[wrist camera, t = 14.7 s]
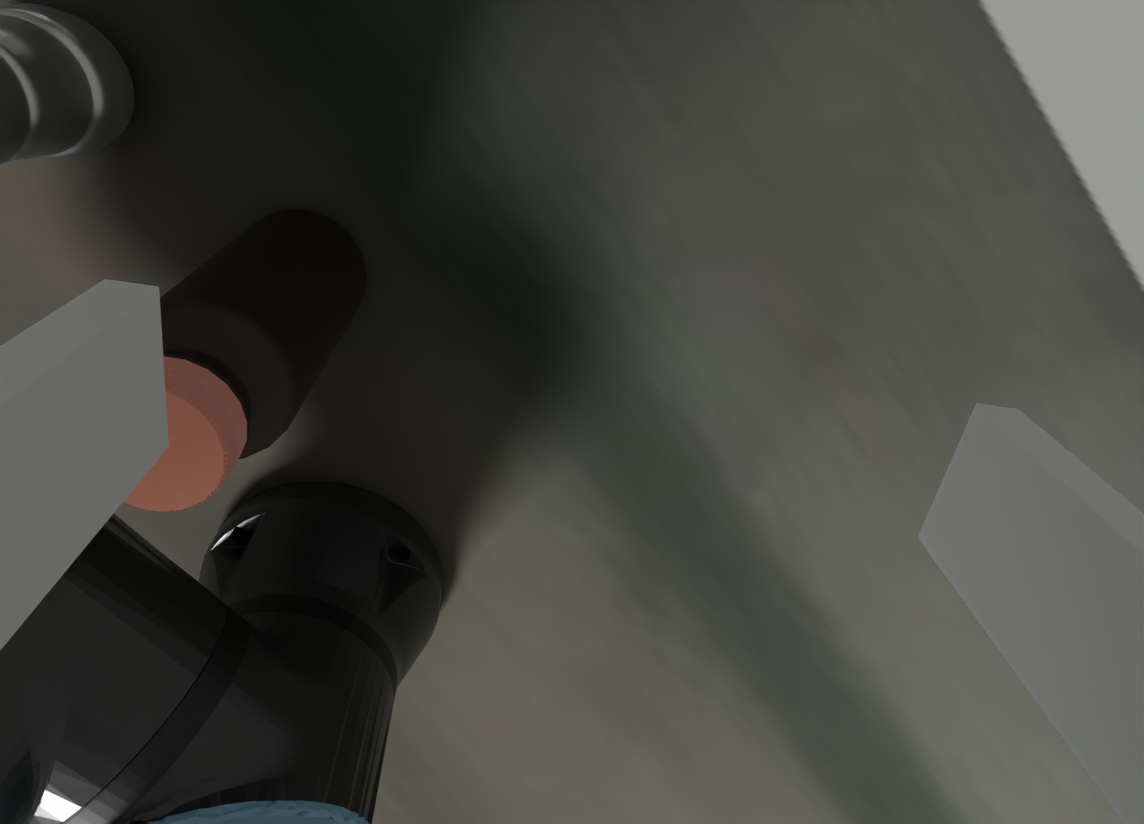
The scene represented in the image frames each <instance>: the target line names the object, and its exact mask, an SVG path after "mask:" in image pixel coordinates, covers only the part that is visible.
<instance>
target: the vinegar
mask: <svg viewBox="0 0 1144 824" xmlns="http://www.w3.org/2000/svg"><path fill="white" fill-rule="evenodd" d="M365 284H366V270H365V266H364V262H363V258H362V254H361V252H360V251H359V249H358V247H357V246H356V244H355V242H354V241H353V239H352V237H351V236H350V235H349V234H348V233H347V232H346V231H344V230H343V229H342V228H341V227H340V226H339V225H338V224H337V223H336V222H334V221H332V220H330V219H328V218H326V217H324V216H322V215H320V214H318V213H313V212H308V211H302V210H297V209H294V210H287V211H279V212H275V213H273V214H271V215H269V216H267V217H265V218H263V219H261V220H259V221H257V222H256V223H255V224H254V225H252V226H251V227H250V228H248V229H247V230H246V231H245V232H243V233H242V234H241V235H240V236H238V237H237V238H236V239H235V240H233V241H232V242H231V243H229V244H228V245H227V246H226V247H224V248H223V249H222V250H221V251H219V252H218V253H217V254H215V255H214V256H213V257H212V258H210V259H209V260H208V261H207V262H205V263H204V264H203V265H201V266H200V267H199V268H198V269H196V270H195V271H194V272H193V273H191V274H190V275H189V276H188V277H186V278H185V279H184V280H182V281H181V282H180V283H179V284H177V285H176V286H175V287H174V288H172V289H171V290H170V291H168V292H167V293H166V294H165V295H163V296H162V297H161V298H160V310H161V326H162V343H163V359H164V375H165V392H166V408H167V424H168V441H169V447H168V448H167V449H166V450H165V452H164V453H163V454H162V455H161V457H160V458H159V459H158V460H157V461H156V463H155V464H154V465H153V466H152V467H151V469H150V470H149V471H148V472H147V473H146V475H145V476H144V477H143V478H142V480H141V481H140V482H139V483H138V484H137V486H136V487H135V488H134V489H133V490H132V492H131V493H130V494H129V495H128V496H127V498H126V499H125V500H124V501H123V503H124V502H125V503H128V504H129V506H130V505H133V506H135V507H136V508H137V507H138V508H141V509H142V510H143V509H148V511H150V510H154V511H155V512H156V511H161V512H163V511H167V512H169V511H171V510H173V511H174V512H175V511H176V510H180V511H181V510H182V509H186V510H187V509H188V507H191V508H193V506H194V505H195V504H196V505H197V506H198V505H199V503H200V502H201V503H203V502H204V500H205V499H206V500H208V498H209V497H210V496H211V497H212V495H213V494H214V493H216V491H217V490H218V489H219V488H220V486H221V484H222V483H223V481H224V480H225V478H226V477H227V475H228V474H229V472H230V471H231V469H232V468H233V466H234V465H235V463H236V462H237V460H238V459H240V458H246V457H248V456H250V455H252V454H255V453H257V452H259V451H261V450H263V449H266V448H268V447H269V446H270V445H271V444H272V443H273V442H275V441H276V440H277V439H278V438H279V437H280V436H281V435H282V434H283V433H284V432H285V431H286V430H287V429H288V427H289V425H290V424H291V422H292V420H293V418H294V417H295V415H296V413H297V412H298V410H299V408H300V406H301V405H302V403H303V401H304V399H305V398H306V396H307V394H308V393H309V391H310V389H311V387H312V386H313V384H314V382H315V381H316V379H317V377H318V375H319V374H320V372H321V370H322V368H323V367H324V365H325V363H326V362H327V360H328V358H329V356H330V355H331V353H332V351H333V349H334V348H335V346H336V344H337V343H338V341H339V339H340V337H341V336H342V334H343V332H344V331H345V329H346V327H347V325H348V324H349V322H350V320H351V318H352V317H353V315H354V313H355V312H356V310H357V308H358V306H359V304H360V302H361V299H362V297H363V295H364V293H365Z"/></svg>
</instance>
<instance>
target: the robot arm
mask: <svg viewBox="0 0 1144 824" xmlns="http://www.w3.org/2000/svg"><path fill="white" fill-rule="evenodd" d="M168 447H169V441H168V424H167V408H166V392H165V375H164V359H163V343H162V326H161V310H160V294H159V287H158V286H151V285H144V284H137V283H130V282H123V281H116V280H109V279H104V280H103V281H101V282H100V283H98V284H96V285H95V286H93V287H92V288H90V289H89V290H87V291H85V292H84V293H82V294H81V295H79V296H78V297H76V298H74V299H73V300H71V301H70V302H68V303H67V304H65V305H64V306H62V307H60V308H59V309H57V310H56V311H54V312H53V313H51V314H49V315H48V316H46V317H45V318H43V319H42V320H40V321H39V322H37V323H35V324H34V325H32V326H31V327H29V328H28V329H26V330H24V331H23V332H21V333H20V334H18V335H17V336H15V337H14V338H12V339H10V340H9V341H7V342H6V343H4V344H3V345H1V346H0V824H372V819H373V814H374V808H375V803H376V797H377V792H378V786H379V781H380V775H381V770H382V764H383V759H384V753H385V748H386V742H387V737H388V732H389V726H390V721H391V715H392V710H393V703H394V698H395V693H396V688H397V687H398V685H399V684H400V682H401V681H402V679H403V678H404V677H405V675H406V674H407V672H408V671H409V669H410V668H411V666H412V665H413V663H414V662H415V660H416V659H417V657H418V656H419V655H420V653H421V652H422V650H423V649H424V647H425V646H426V644H427V643H428V641H429V639H430V637H431V635H432V633H433V631H434V629H435V626H436V623H437V620H438V616H439V611H440V606H441V599H442V593H443V573H442V567H441V563H440V560H439V557H438V554H437V552H436V550H435V548H434V546H433V544H432V542H431V541H430V539H429V537H428V536H427V535H426V533H425V532H424V531H423V530H422V528H421V527H420V526H419V525H418V524H417V523H416V522H415V521H414V520H413V519H412V518H411V517H410V516H409V515H407V514H406V513H405V512H404V511H402V510H401V509H400V508H398V507H397V506H395V505H394V504H392V503H390V502H388V501H387V500H385V499H383V498H381V497H379V496H377V495H374V494H372V493H370V492H367V491H364V490H361V489H358V488H354V487H350V486H346V485H341V484H334V483H324V482H307V483H296V484H290V485H285V486H281V487H277V488H274V489H271V490H268V491H266V492H263V493H261V494H259V495H257V496H255V497H253V498H251V499H250V500H248V501H246V502H245V503H244V504H242V505H241V506H240V507H238V508H237V509H236V510H235V511H234V512H233V513H232V514H231V515H230V516H229V517H228V518H227V520H226V521H225V522H224V524H223V525H222V526H221V528H220V530H219V531H218V533H217V535H216V536H215V538H214V540H213V542H212V543H211V545H210V547H209V549H208V550H207V553H206V555H205V558H204V561H203V564H202V567H201V571H200V577H199V582H198V581H197V580H195V579H194V578H193V577H192V576H190V575H189V574H188V573H186V572H185V571H184V570H183V569H181V568H180V567H179V566H178V565H176V564H175V563H174V562H173V561H171V560H170V559H169V558H167V557H166V556H165V555H164V554H162V553H161V552H160V551H159V550H157V549H156V548H155V547H154V546H152V545H151V544H150V543H149V542H148V541H146V540H145V539H144V538H143V537H142V536H140V535H139V534H138V533H137V532H135V531H134V530H133V529H132V528H131V527H129V526H128V525H127V524H126V523H125V522H123V521H122V520H121V519H120V518H118V517H117V516H116V515H115V514H114V512H115V511H116V510H117V509H118V507H119V506H120V505H121V504H122V503H123V501H124V500H125V499H126V498H127V496H128V495H129V494H130V493H131V492H132V490H133V489H134V488H135V487H136V486H137V484H138V483H139V482H140V481H141V480H142V478H143V477H144V476H145V475H146V473H147V472H148V471H149V470H150V469H151V467H152V466H153V465H154V464H155V463H156V461H157V460H158V459H159V458H160V457H161V455H162V454H163V453H164V452H165V450H166V449H167V448H168ZM918 538H919V540H920V541H921V543H922V544H923V545H924V547H925V548H926V550H927V551H928V552H929V554H930V555H931V556H932V558H933V559H934V561H935V562H936V563H937V565H938V566H939V568H940V569H941V570H942V572H943V573H944V574H945V576H946V577H947V579H948V580H949V581H950V583H951V584H952V586H953V587H954V588H955V590H956V591H957V593H958V594H959V595H960V597H961V598H962V599H963V601H964V602H965V604H966V605H967V606H968V608H969V609H970V611H971V612H972V613H973V615H974V616H975V618H976V619H977V620H978V622H979V623H980V624H981V626H982V627H983V629H984V630H985V631H986V633H987V634H988V636H989V637H990V638H991V640H992V641H993V642H994V644H995V645H996V647H997V648H998V649H999V651H1000V652H1001V654H1002V655H1003V656H1004V658H1005V659H1006V661H1007V662H1008V663H1009V665H1010V666H1011V667H1012V669H1013V670H1014V672H1015V673H1016V674H1017V676H1018V677H1019V679H1020V680H1021V681H1022V683H1023V684H1024V686H1025V687H1026V688H1027V690H1028V691H1029V692H1030V694H1031V695H1032V697H1033V698H1034V699H1035V701H1036V702H1037V704H1038V705H1039V706H1040V708H1041V709H1042V711H1043V712H1044V713H1045V715H1046V716H1047V717H1048V719H1049V720H1050V722H1051V723H1052V724H1053V726H1054V727H1055V729H1056V730H1057V731H1058V733H1059V734H1060V735H1061V737H1062V738H1063V740H1064V741H1065V742H1066V744H1067V745H1068V747H1069V748H1070V749H1071V751H1072V752H1073V754H1074V755H1075V756H1076V758H1077V759H1078V760H1079V762H1080V763H1081V765H1082V766H1083V767H1084V769H1085V770H1086V772H1087V773H1088V774H1089V776H1090V777H1091V779H1092V780H1093V781H1094V783H1095V784H1096V785H1097V787H1098V788H1099V790H1100V791H1101V792H1102V794H1103V795H1104V797H1105V798H1106V799H1107V801H1108V802H1109V803H1110V805H1111V806H1112V808H1113V809H1114V810H1115V812H1116V813H1117V815H1118V816H1119V817H1120V819H1121V820H1122V822H1123V823H1124V824H1144V514H1143V513H1142V512H1141V511H1140V510H1139V509H1137V508H1136V507H1135V506H1134V505H1133V504H1131V503H1130V502H1129V501H1128V500H1127V499H1125V498H1124V497H1123V496H1122V495H1121V494H1119V493H1118V492H1117V491H1116V490H1115V489H1114V488H1112V487H1111V486H1110V485H1109V484H1108V483H1106V482H1105V481H1104V480H1103V479H1102V478H1100V477H1099V476H1098V475H1097V474H1096V473H1094V472H1093V471H1092V470H1091V469H1090V468H1088V467H1087V466H1086V465H1085V464H1084V463H1082V462H1081V461H1080V460H1079V459H1078V458H1076V457H1075V456H1074V455H1073V454H1072V453H1070V452H1069V451H1068V450H1067V449H1066V448H1064V447H1063V446H1062V445H1061V444H1060V443H1058V442H1057V441H1056V440H1055V439H1054V438H1052V437H1051V436H1050V435H1049V434H1048V433H1046V432H1045V431H1044V430H1043V429H1042V428H1040V427H1039V426H1038V425H1037V424H1036V423H1034V422H1033V421H1032V420H1031V419H1030V418H1028V417H1027V416H1026V415H1025V414H1024V413H1022V412H1021V411H1020V410H1019V409H1014V408H1007V407H1000V406H993V405H986V404H979V403H976V405H975V407H974V410H973V412H972V414H971V416H970V419H969V421H968V423H967V426H966V428H965V430H964V432H963V435H962V437H961V439H960V442H959V444H958V446H957V448H956V451H955V453H954V455H953V457H952V460H951V462H950V464H949V467H948V469H947V471H946V473H945V476H944V478H943V480H942V483H941V485H940V487H939V489H938V492H937V494H936V496H935V498H934V501H933V503H932V505H931V508H930V510H929V512H928V514H927V517H926V519H925V521H924V524H923V526H922V528H921V530H920V533H919V535H918Z"/></svg>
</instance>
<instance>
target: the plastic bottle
mask: <svg viewBox="0 0 1144 824" xmlns="http://www.w3.org/2000/svg"><path fill="white" fill-rule="evenodd" d="M134 98H135V97H134V89H133V83H132V80H131V76H130V73H129V70H128V68H127V66H126V64H125V62H124V60H123V58H122V56H121V55H120V54H119V52H118V51H117V50H116V48H115V47H114V45H113V44H112V43H111V42H110V41H109V40H108V39H107V38H106V37H105V36H104V35H103V34H102V33H101V32H100V31H99V30H97V29H96V28H95V27H93V26H92V25H91V24H89V23H88V22H86V21H84V20H82V19H80V18H78V17H77V16H75V15H72V14H69V13H66V12H63V11H60V10H57V9H54V8H51V7H47V6H44V5H38V4H31V3H24V4H12V5H8V6H4V7H0V165H1V164H4V163H8V162H10V161H13V160H20V159H27V158H35V157H51V158H59V157H75V156H85V155H89V154H92V153H96V152H98V151H99V150H101V149H103V148H105V147H106V146H108V145H109V144H110V143H111V142H113V141H114V140H115V139H116V138H117V137H118V136H119V135H120V134H121V133H122V132H123V131H124V130H125V129H126V127H127V125H128V124H129V122H130V120H131V117H132V113H133V110H134Z"/></svg>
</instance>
